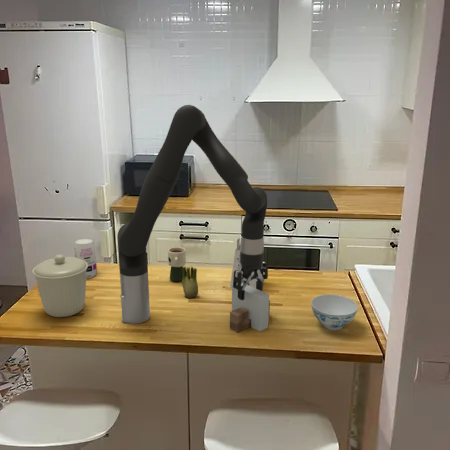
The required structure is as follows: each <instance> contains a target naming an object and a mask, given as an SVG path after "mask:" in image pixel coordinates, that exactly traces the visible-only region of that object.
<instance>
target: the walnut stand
mask: <svg viewBox="0 0 450 450" xmlns="http://www.w3.org/2000/svg"><path fill="white" fill-rule="evenodd" d="M270 305H271V300H270V299H269V314H270V310H271V309H270V307H271V306H270ZM248 315H249V311H248V310H246V309H244V308H242V307H240V308H238V309H236V310H234V311H232V310H231V311H230V312H229V329H230V330H231V331H233V332H236V333H240V332H241V331H242V330H243V331H244V330H245V329H247V328H249V327H251V319H249V318H248ZM269 317H270V315H269V316H268V318H269Z"/></svg>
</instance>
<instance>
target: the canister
mask: <svg viewBox="0 0 450 450" xmlns="http://www.w3.org/2000/svg"><path fill="white" fill-rule="evenodd" d="M87 268H88V263H87V262H86V261H84V260H81V259H79V258H75V256H65V255H64V254H62V253H59V254H56V255H55V256H54V257H52V258H49V259H46V260H42V261H41V262H40V263H38V264H37V265H36V266H34V268H32V269H31V270H32V274H33V276H34V277H35V280H36V285H37V289H38V293H39V296H40V300H41V302H42V303H41V304H42V307H43V310H44V312H46V314H47V315H49V316H51V317H55V318H65V317H71V316H73V315H76V314H78V313H80V312H81V311H82V310H83V308H84V307H85V304H86V303H85V302H86V291H87V290H86V288H87V278H86V269H87Z"/></svg>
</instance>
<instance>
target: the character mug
mask: <svg viewBox="0 0 450 450" xmlns="http://www.w3.org/2000/svg"><path fill="white" fill-rule="evenodd" d="M186 254H187V253H186V248H184V247H183V246H174V247H170V248H168V249H167V264H168V266H170V272H169V280H170V281H171V282H172V281H173V282H179V281H182V280H183V270H182V267H183V266H186V263H187V258H186V256H187V255H186Z"/></svg>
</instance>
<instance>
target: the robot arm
mask: <svg viewBox="0 0 450 450" xmlns="http://www.w3.org/2000/svg"><path fill="white" fill-rule="evenodd" d="M192 142H193V143H195V144H196V145H197V146H198V147H199V148H200V150H201V151H202V152H203V153H204V155H205V156H206V157H207V159H208V161H209V162H210V165H212V167H213V168H214V170H215V171H216V173H217V174H218V175H219V177H220V178H221V179H222V181H223V182H224V183H225V184H226V185H227V186H228V188H229V190H230V192H231V194H232V195H233V197H234V199H235V200H236V203H237V204H238V206H239V207H240V209H241V210H243V211H244V212H245V214H244V218H243V220H242V223H241V235H240V237H241V238H240V263H241V265H242V268H241V270H240V271H236V270H235V271H234V278H233V288H235V289H237V290H238V298H239V299H240V300H244V299H245V290H244V289H245V287H246V285H250V284H249V282H250V281H251V280H253V279H256V280H257V281H256V289H258V290H260V291H263V289H264V288H263V286H264V285H263V284H264V282H265V280H268V278H269V263H268V262H266V261H264V251H265V249H264V248H265V247H264V246H265V241H264V239H265V238H264V237H265V235H264V231H265V229H264V227H265V220H266V219H265V218H266V214H267V208H268V196H267V193H266V191H265V190H264V189H263V188H262V187H259V186H252V185H251V184H250V182H249V180H248V179H249V175H248V173H247V172H246V171H245V170H244V168H243V167H242V166H241V164H240V163H239V162H238V160H237V159H236V158H235V157H234V155H232V154H231V153H230V151H229V150H228V149H227V148H226V147H225V145H223V143H222V142H221V141H220V139H219V138H218V137H217V135H216V134H215V132H214V131H213V129H212V127H211V126H210V124H209V121H208V120H207V118H206V116H205V114H204V113H203V111H202V110H201V109H199V108H198V107H197V106H194V105H193V104H185V105H182V106H180V107H179V108H178V109H177V110H176V111H175V113H174V115H173V118H172V119H171V123H170V125H169V129H168V131H167V134H166V137H165V139H164V141H163V144H162V146H161V147H160V150H159V151H158V153H157V155H156V157H155V159H154V161H153V163H152V165H151V167H150V169H149V171H148V172H147V175H146V177H145V179H144V181H143V184H142V186H141V188H140V189H141V190H140V192H139V196H138V201H137V204H136V207H135V210H134V213H133V215H132V217H131V218H130V220H129V222H126V223H124V224H123V225H122V226H121V227H120V228H119V230H118V232H117V236H116V237H117V252H118V268H119V280H120V281H119V282H120V306H121V318H122V320H121V322H122V323H127V324H133V325H135V324H137V325H138V324H142V323H145V322H147V321H148V320H149V319H150V317H151V310H150V287H149V265H148V257H147V256H148V254H147V246H148V243H149V240H150V238H151V234H152V232H153V229H154V226H155V225H156V222H157V220H158V218H159V216H160V214H161V213H162V211H163V209H164V207H165V205H166V204H167V202H168V200H169V198H170V196H171V195H172V192H173V190H174V188H175V186H176V184H177V181H178V180H179V177H180V173H181V169H182V167H183V166H182V165H183V161H184V157H185V153H186V152H187V149H188V148H189V146H190V144H191V143H192ZM243 278H245V279H246V281H245V280H243ZM237 283H238V284H237ZM242 283H243V285H242V286H241V284H242Z"/></svg>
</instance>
